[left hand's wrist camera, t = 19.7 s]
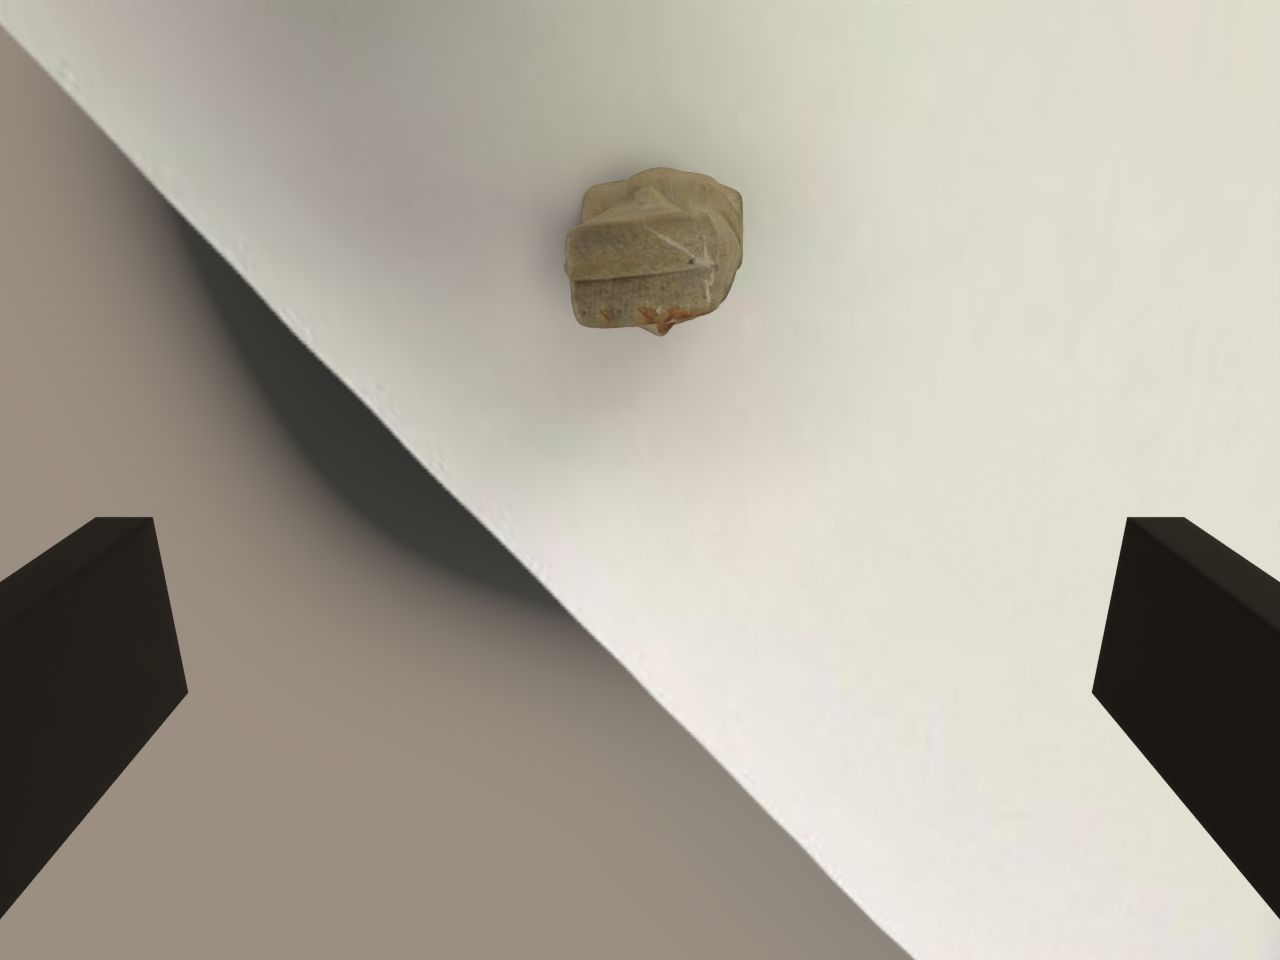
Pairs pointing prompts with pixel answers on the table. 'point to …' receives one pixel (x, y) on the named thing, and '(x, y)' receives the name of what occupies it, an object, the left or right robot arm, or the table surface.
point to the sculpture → (654, 250)
